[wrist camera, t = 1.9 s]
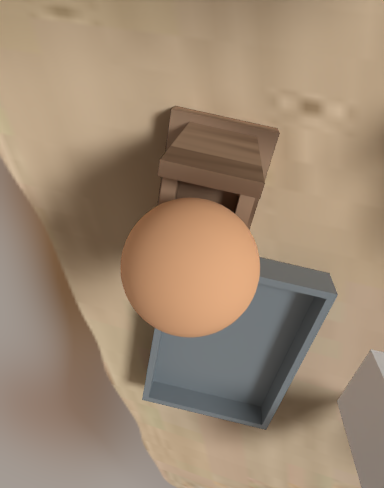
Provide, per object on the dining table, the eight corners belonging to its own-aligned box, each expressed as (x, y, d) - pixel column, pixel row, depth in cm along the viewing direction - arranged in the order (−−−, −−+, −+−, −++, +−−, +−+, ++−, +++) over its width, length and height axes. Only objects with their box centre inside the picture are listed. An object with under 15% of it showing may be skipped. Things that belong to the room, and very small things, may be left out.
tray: (174, 237, 27) (167, 255, 25) (329, 273, 27) (337, 294, 25) (148, 376, 37) (142, 399, 34) (264, 404, 36) (266, 429, 34)
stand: (175, 106, 22) (130, 140, 13) (277, 128, 22) (300, 178, 13) (158, 222, 27) (115, 306, 18) (242, 242, 27) (241, 336, 18)
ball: (148, 165, 16) (102, 220, 11) (273, 194, 16) (287, 263, 10) (136, 268, 19) (95, 349, 14) (240, 292, 19) (238, 384, 13)
